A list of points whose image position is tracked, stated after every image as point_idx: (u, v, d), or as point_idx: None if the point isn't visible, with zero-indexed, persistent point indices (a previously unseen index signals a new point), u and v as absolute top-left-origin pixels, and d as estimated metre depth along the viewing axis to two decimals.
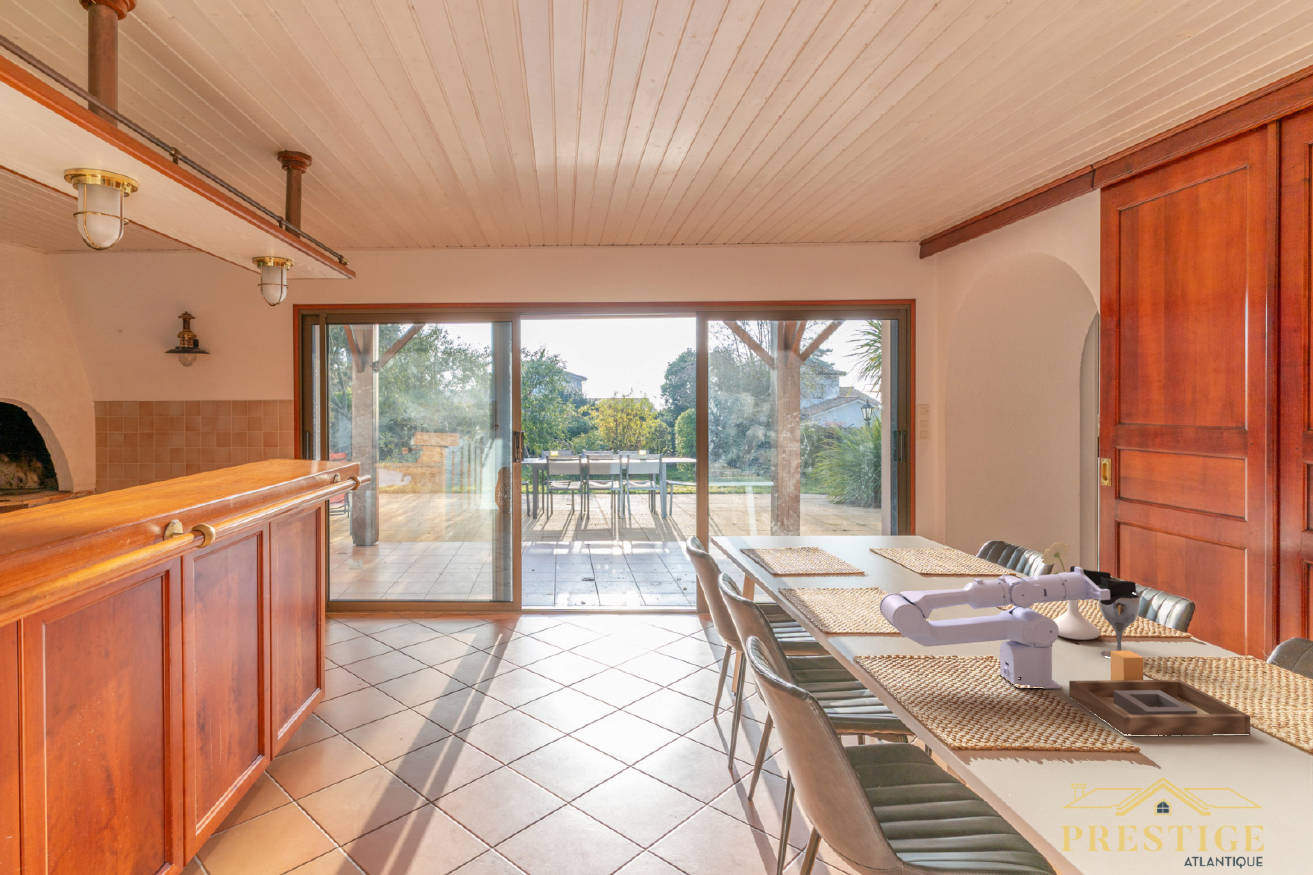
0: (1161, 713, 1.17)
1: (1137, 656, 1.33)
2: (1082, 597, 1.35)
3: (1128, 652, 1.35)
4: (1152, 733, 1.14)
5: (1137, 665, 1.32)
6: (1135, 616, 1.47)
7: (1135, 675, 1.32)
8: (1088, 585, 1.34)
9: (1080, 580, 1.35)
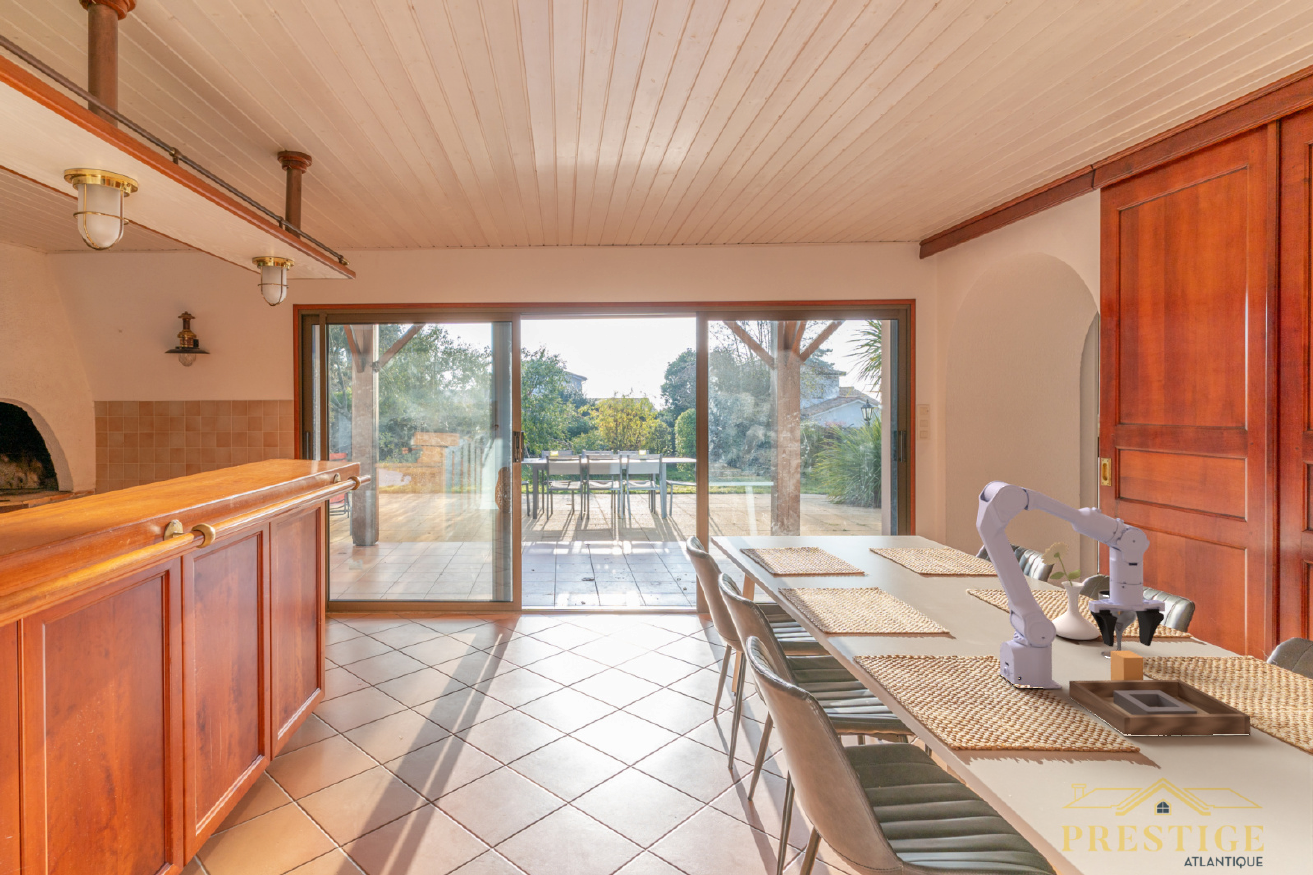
0: (1161, 713, 1.17)
1: (1137, 656, 1.33)
2: None
3: (1128, 652, 1.35)
4: (1152, 733, 1.14)
5: (1137, 665, 1.32)
6: (1135, 616, 1.47)
7: (1135, 675, 1.32)
8: (1114, 604, 1.33)
9: (1121, 600, 1.32)
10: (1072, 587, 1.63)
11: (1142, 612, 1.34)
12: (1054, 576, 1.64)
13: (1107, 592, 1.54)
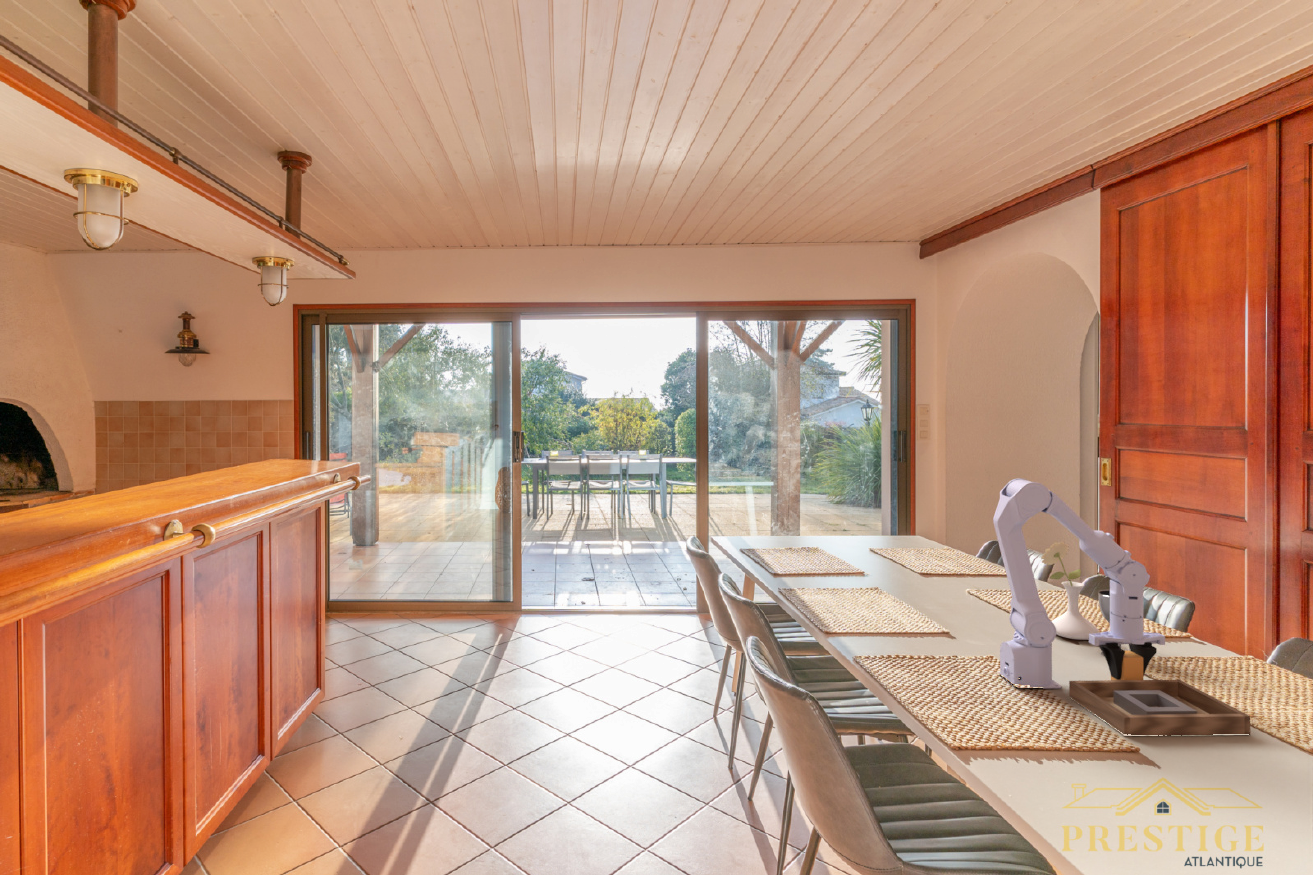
0: (1161, 713, 1.17)
1: (1137, 656, 1.33)
2: None
3: (1128, 652, 1.35)
4: (1152, 733, 1.14)
5: (1137, 665, 1.32)
6: None
7: (1135, 675, 1.32)
8: (1115, 637, 1.33)
9: (1121, 634, 1.32)
10: (1072, 587, 1.63)
11: (1135, 645, 1.34)
12: (1054, 576, 1.64)
13: (1107, 592, 1.54)
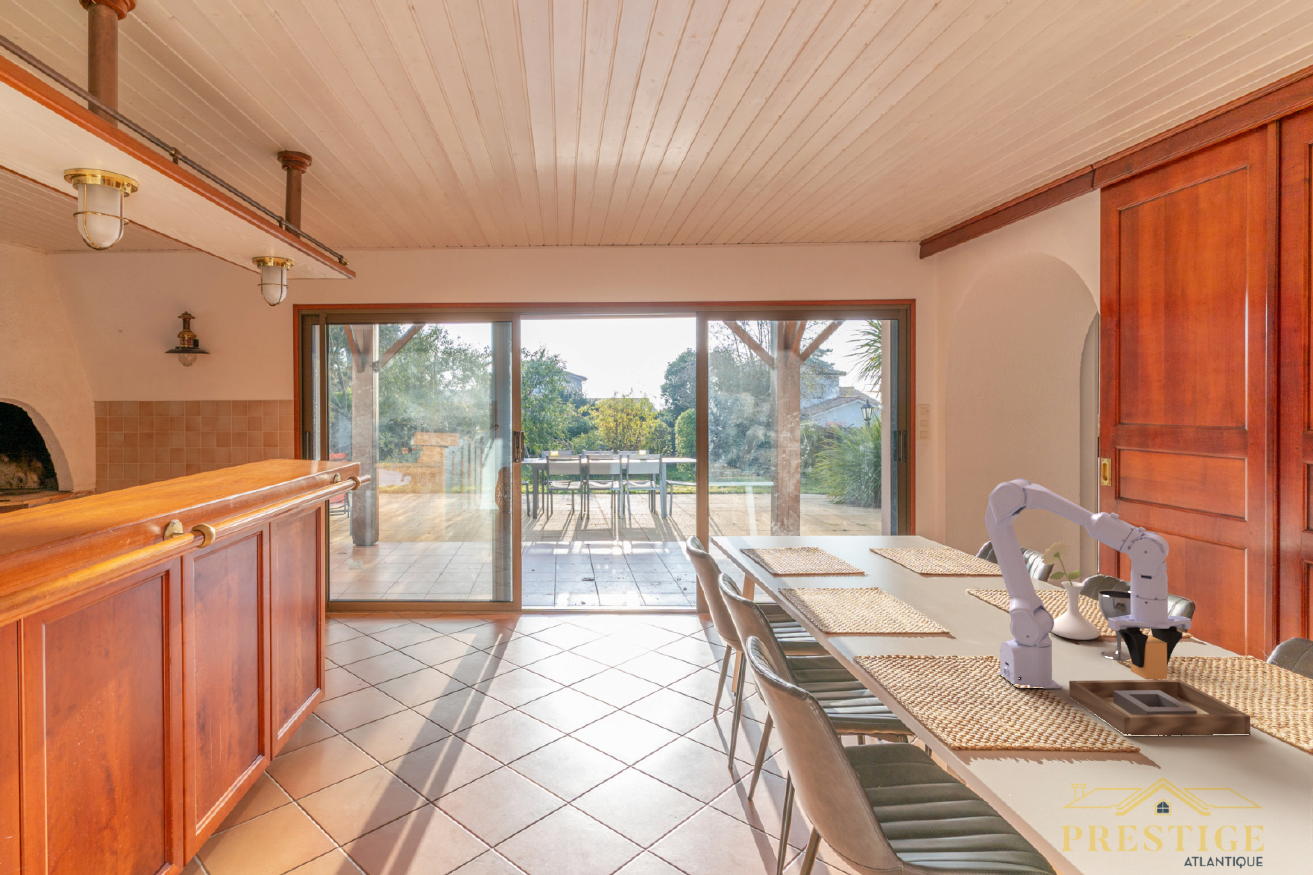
0: (1161, 713, 1.17)
1: (1160, 641, 1.22)
2: None
3: (1150, 637, 1.24)
4: (1152, 733, 1.14)
5: (1160, 651, 1.21)
6: None
7: (1158, 662, 1.21)
8: (1136, 621, 1.22)
9: (1144, 617, 1.21)
10: (1072, 587, 1.63)
11: (1158, 630, 1.23)
12: (1054, 576, 1.64)
13: (1107, 592, 1.54)
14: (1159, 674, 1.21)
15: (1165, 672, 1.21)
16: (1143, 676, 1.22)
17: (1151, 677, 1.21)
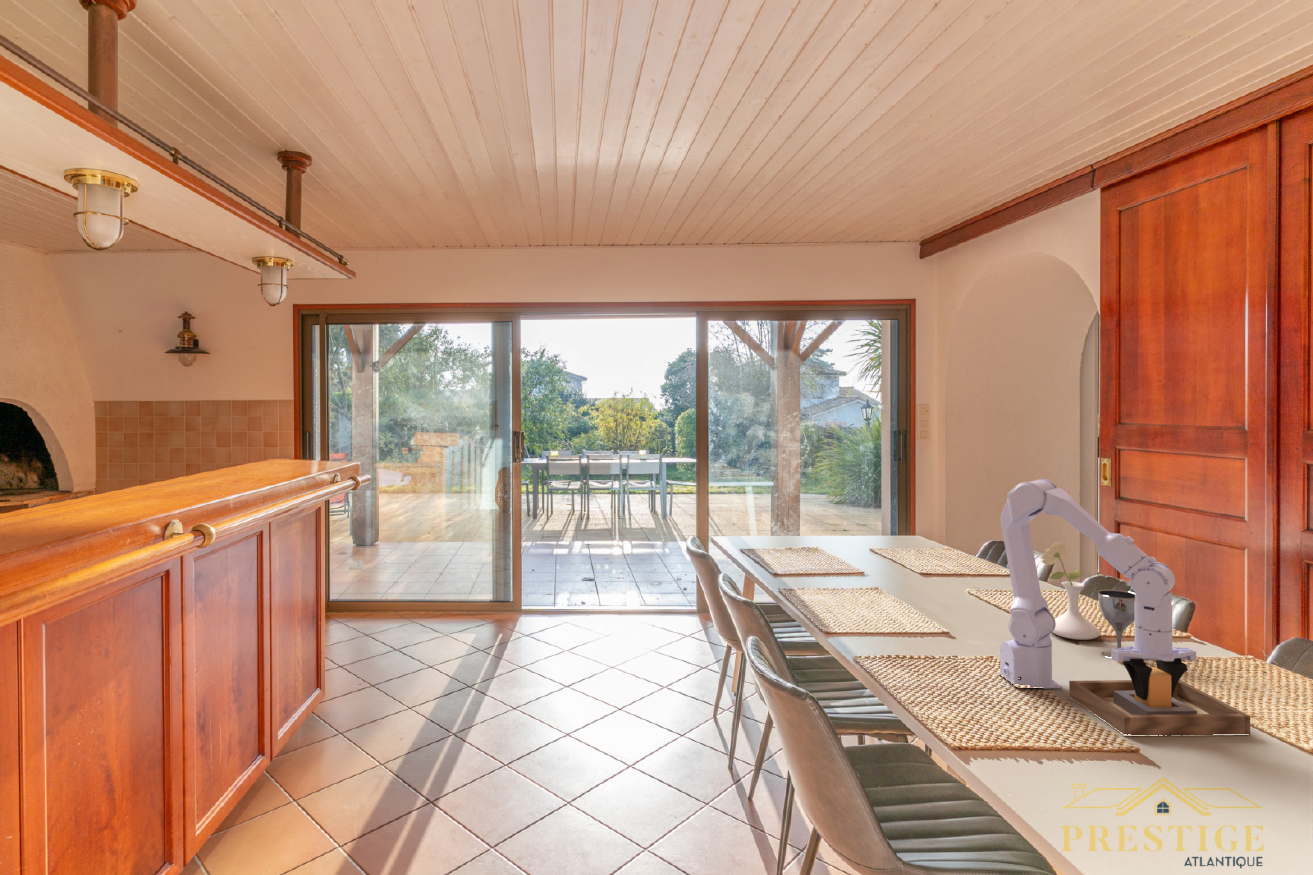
0: (1161, 713, 1.17)
1: (1164, 673, 1.20)
2: None
3: (1154, 669, 1.22)
4: (1152, 733, 1.14)
5: (1164, 684, 1.19)
6: None
7: (1163, 695, 1.19)
8: (1140, 653, 1.20)
9: (1148, 649, 1.19)
10: (1072, 587, 1.63)
11: (1162, 661, 1.22)
12: (1054, 576, 1.64)
13: (1107, 592, 1.54)
14: None
15: (1170, 705, 1.19)
16: None
17: None
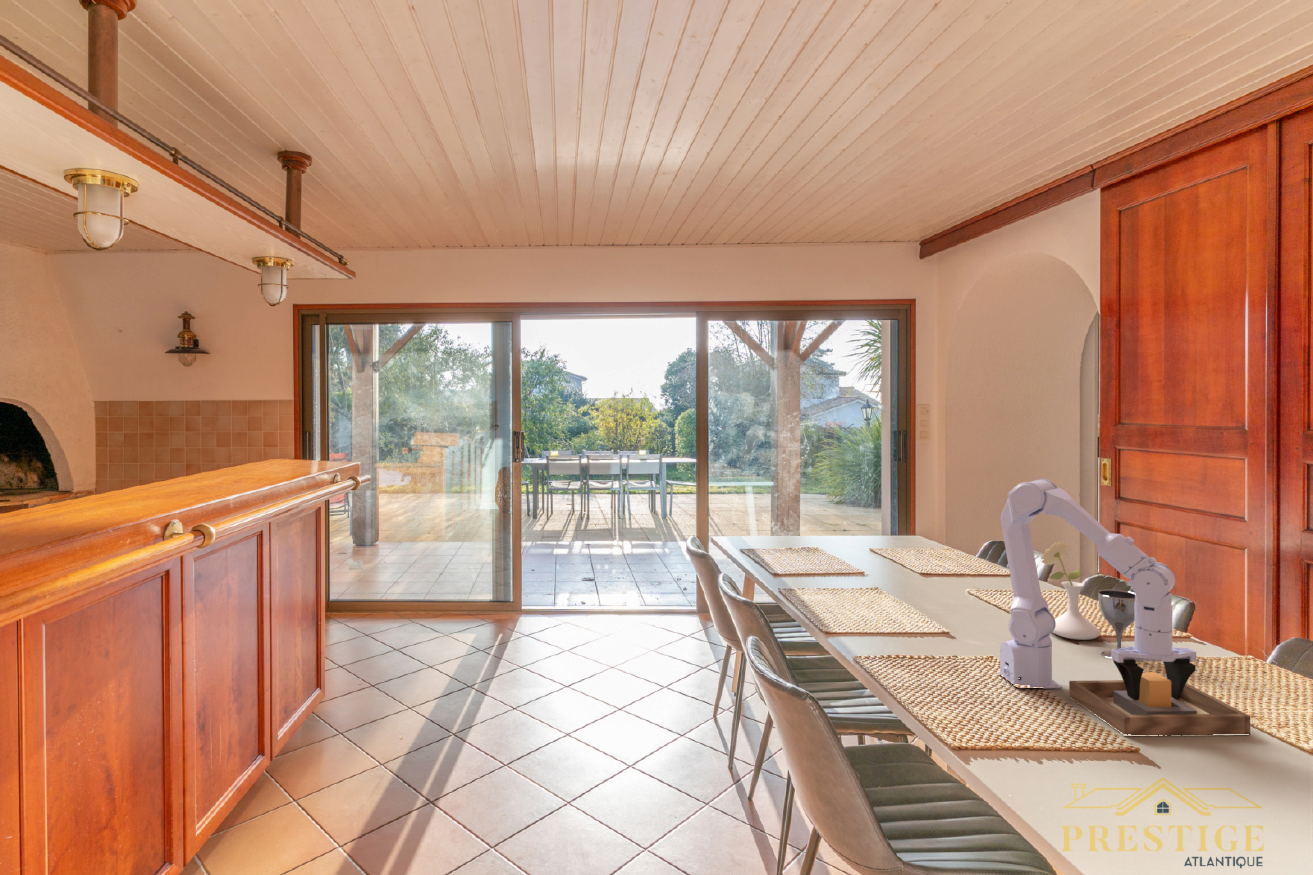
0: (1161, 713, 1.17)
1: (1164, 679, 1.20)
2: None
3: (1154, 674, 1.22)
4: (1152, 733, 1.14)
5: (1164, 689, 1.19)
6: None
7: (1162, 700, 1.20)
8: (1140, 653, 1.20)
9: (1148, 650, 1.19)
10: (1072, 587, 1.63)
11: (1170, 662, 1.22)
12: (1054, 576, 1.64)
13: (1107, 592, 1.54)
14: None
15: None
16: None
17: None
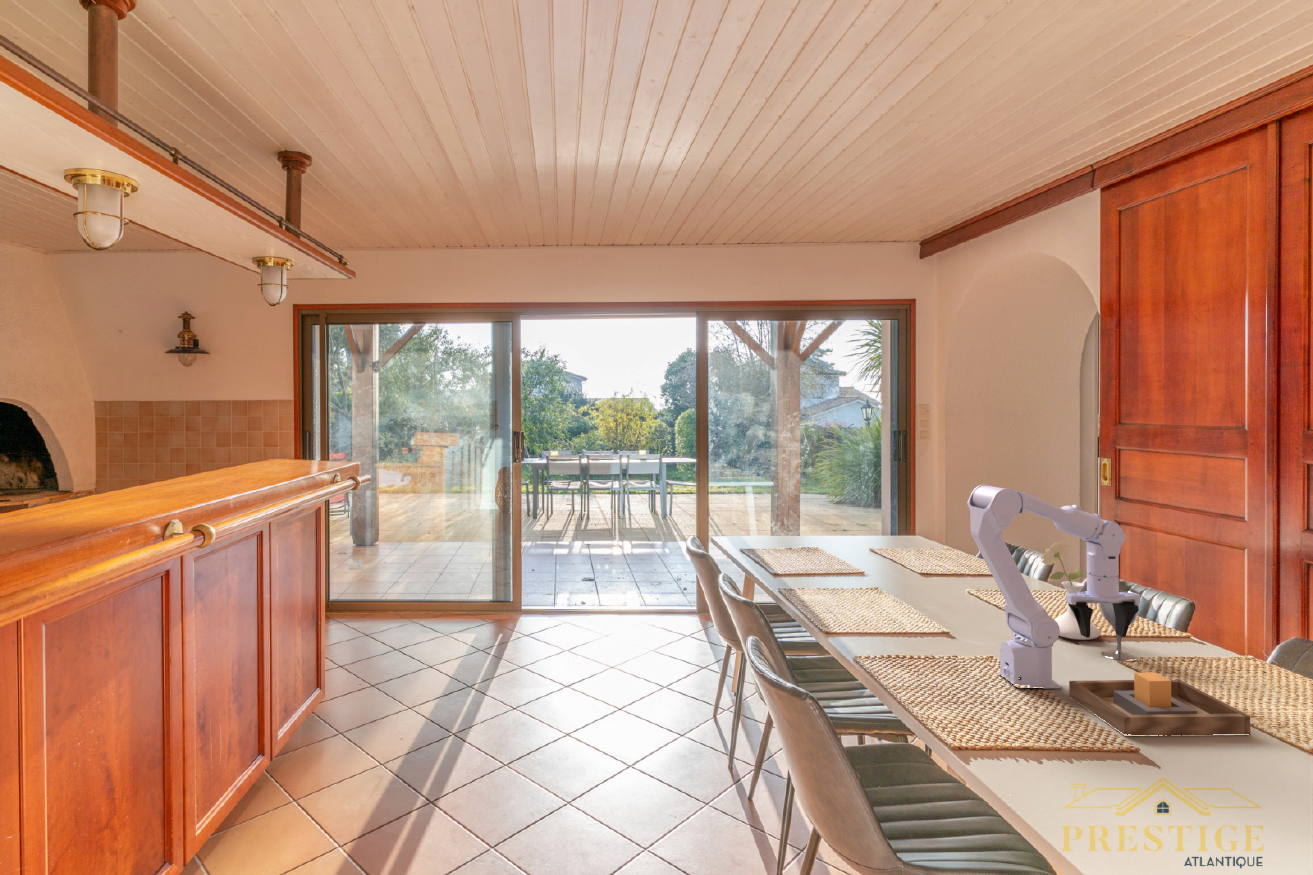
0: (1161, 713, 1.17)
1: (1164, 679, 1.20)
2: None
3: (1154, 674, 1.22)
4: (1152, 733, 1.14)
5: (1164, 689, 1.19)
6: (1135, 616, 1.47)
7: (1162, 700, 1.20)
8: (1091, 596, 1.37)
9: (1097, 593, 1.36)
10: (1072, 587, 1.63)
11: (1118, 604, 1.39)
12: (1054, 576, 1.64)
13: None
14: None
15: None
16: None
17: None
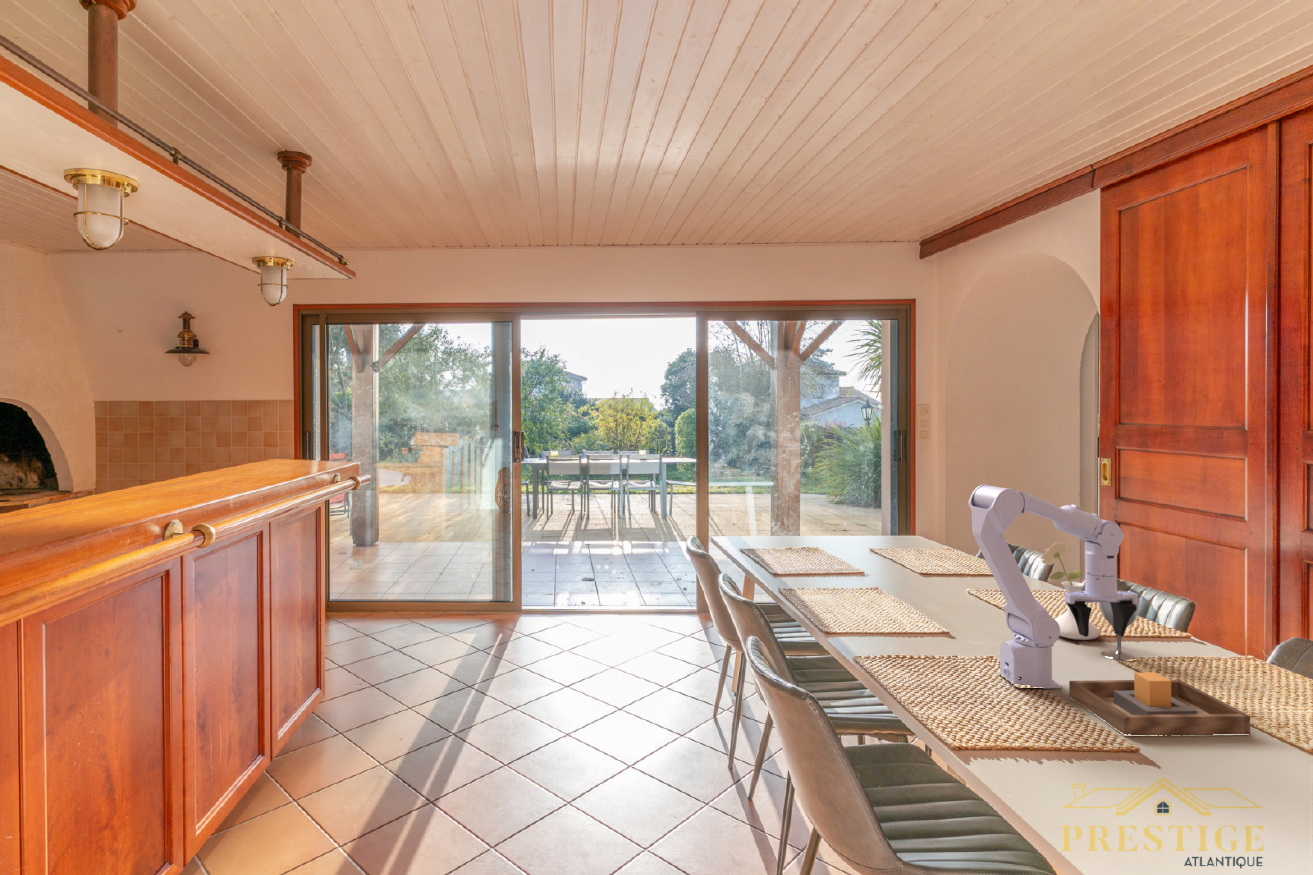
0: (1161, 713, 1.17)
1: (1164, 679, 1.20)
2: None
3: (1154, 674, 1.22)
4: (1152, 733, 1.14)
5: (1164, 689, 1.19)
6: (1135, 616, 1.47)
7: (1162, 700, 1.20)
8: (1089, 596, 1.38)
9: (1096, 592, 1.37)
10: (1072, 587, 1.63)
11: (1116, 603, 1.39)
12: (1054, 576, 1.64)
13: None
14: None
15: None
16: None
17: None
